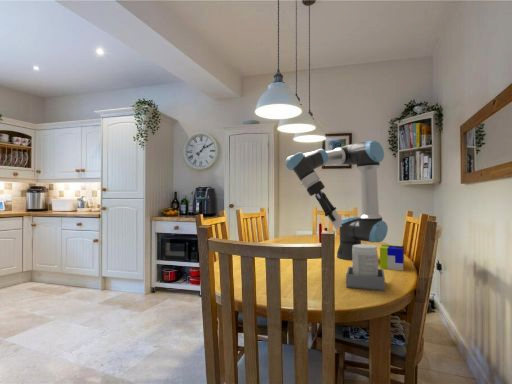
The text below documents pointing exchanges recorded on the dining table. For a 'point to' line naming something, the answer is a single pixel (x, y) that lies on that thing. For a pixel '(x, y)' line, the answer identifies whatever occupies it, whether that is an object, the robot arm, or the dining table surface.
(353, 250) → the supplement tub
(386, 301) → the dining table surface
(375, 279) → the crate
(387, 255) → the puzzle toy
